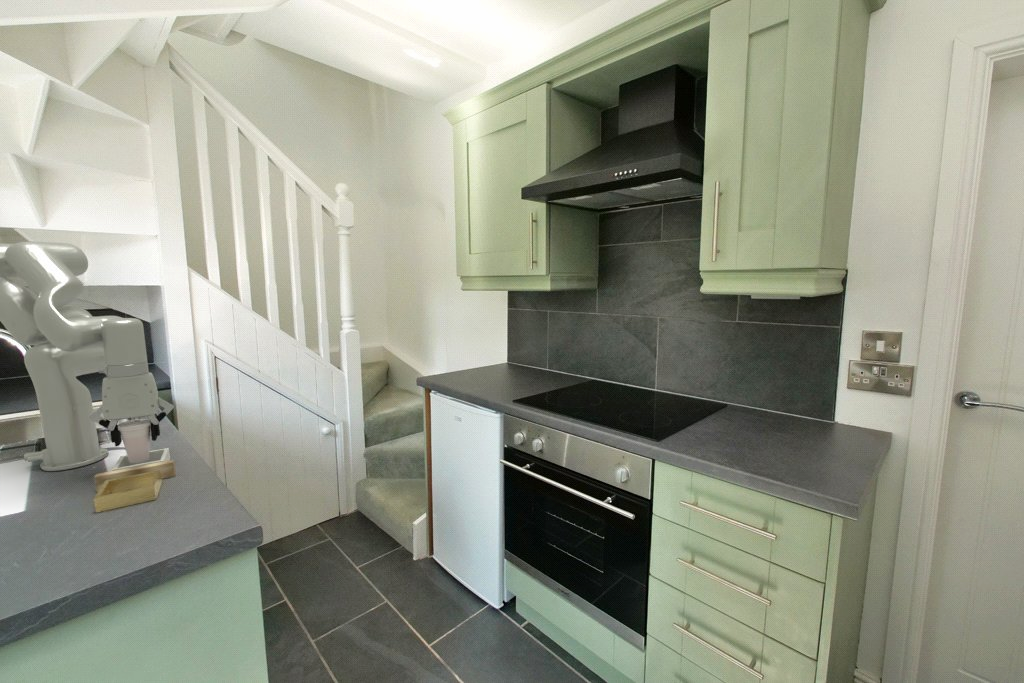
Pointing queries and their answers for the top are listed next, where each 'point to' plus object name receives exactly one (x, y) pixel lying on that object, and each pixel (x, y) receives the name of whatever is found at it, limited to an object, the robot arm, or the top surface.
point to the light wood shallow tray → (128, 491)
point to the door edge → (137, 472)
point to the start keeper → (153, 458)
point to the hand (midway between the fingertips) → (136, 441)
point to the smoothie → (136, 439)
